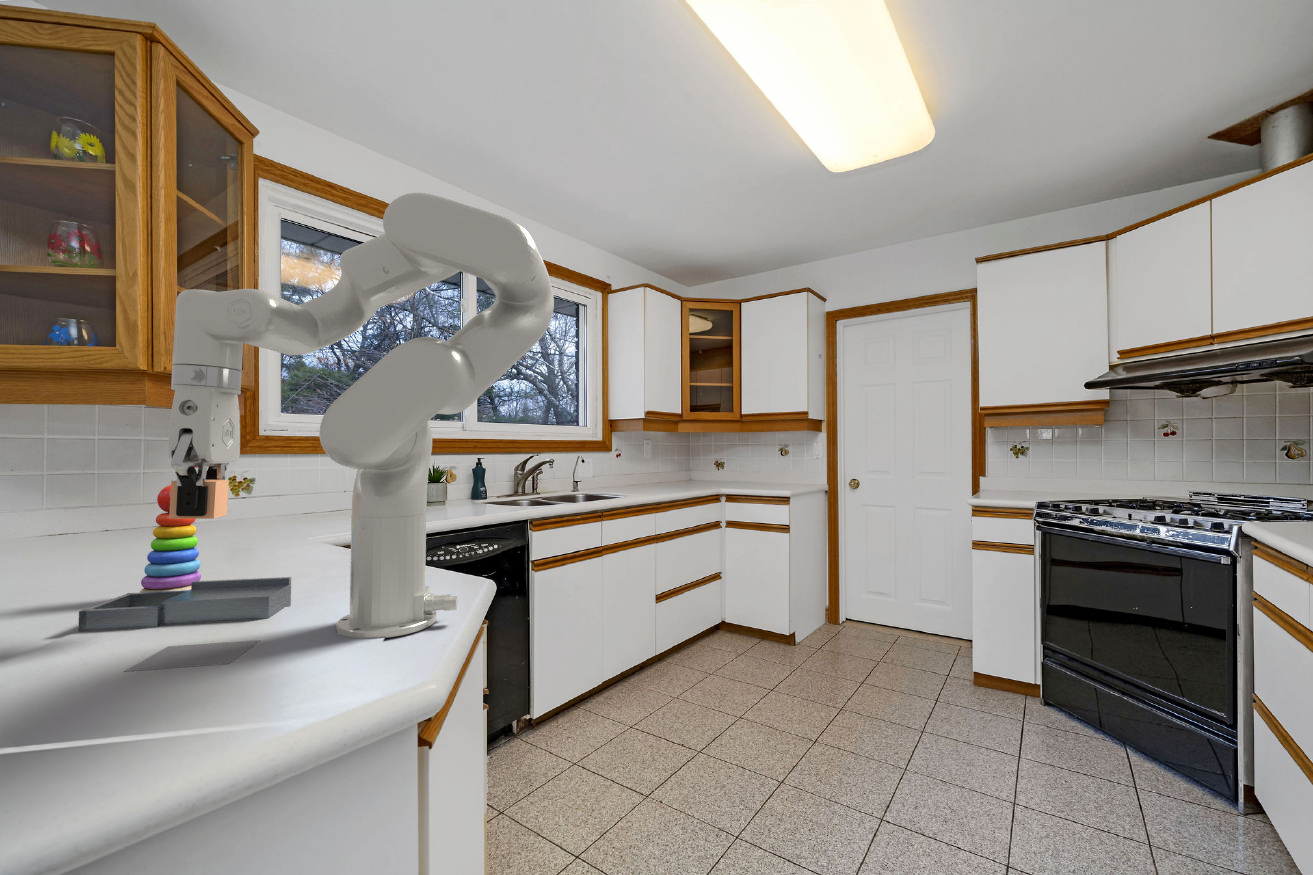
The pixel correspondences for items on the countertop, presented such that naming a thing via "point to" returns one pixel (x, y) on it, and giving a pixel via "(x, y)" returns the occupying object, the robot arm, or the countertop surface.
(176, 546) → the stacking toy
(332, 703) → the countertop surface
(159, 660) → the mat
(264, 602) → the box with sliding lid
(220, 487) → the tan cardboard box
